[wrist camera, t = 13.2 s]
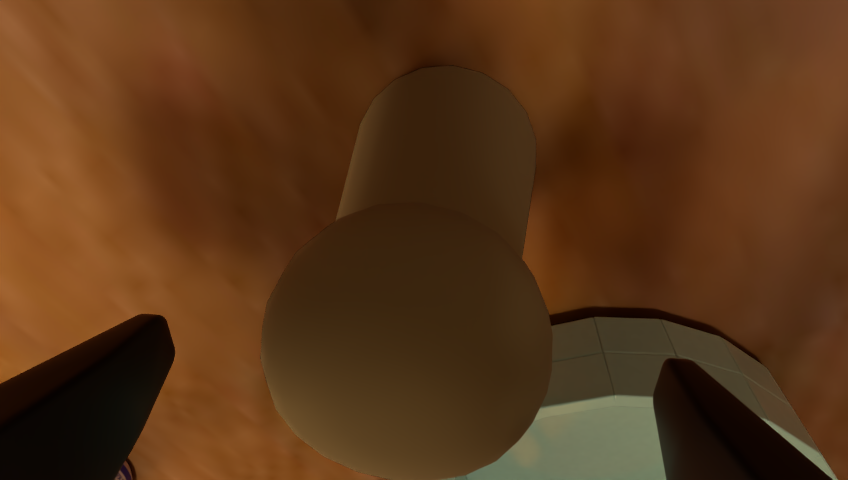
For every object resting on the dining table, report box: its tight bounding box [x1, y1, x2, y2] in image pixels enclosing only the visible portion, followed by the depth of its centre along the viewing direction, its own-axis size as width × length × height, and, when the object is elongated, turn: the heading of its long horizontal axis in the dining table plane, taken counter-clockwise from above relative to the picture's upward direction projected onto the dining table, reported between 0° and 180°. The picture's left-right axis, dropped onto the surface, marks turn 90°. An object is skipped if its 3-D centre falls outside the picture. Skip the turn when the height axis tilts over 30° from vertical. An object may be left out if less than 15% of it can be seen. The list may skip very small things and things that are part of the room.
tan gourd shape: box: [260, 65, 553, 480], centre depth 13 cm, size 6×6×11 cm
